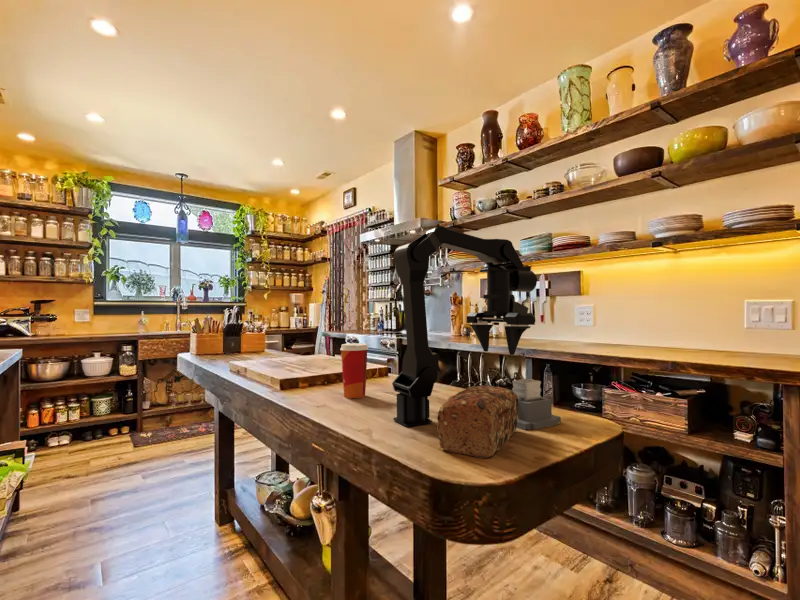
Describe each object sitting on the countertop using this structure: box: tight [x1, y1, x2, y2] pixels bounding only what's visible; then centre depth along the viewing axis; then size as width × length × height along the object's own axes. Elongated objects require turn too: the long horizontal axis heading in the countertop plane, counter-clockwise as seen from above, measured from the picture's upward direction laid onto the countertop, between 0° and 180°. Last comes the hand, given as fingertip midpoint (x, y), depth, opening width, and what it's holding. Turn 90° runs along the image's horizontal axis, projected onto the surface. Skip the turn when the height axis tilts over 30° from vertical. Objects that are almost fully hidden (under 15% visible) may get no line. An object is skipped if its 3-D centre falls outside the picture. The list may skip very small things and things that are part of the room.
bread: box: [436, 385, 518, 459], centre depth 76 cm, size 19×11×10 cm, turn 150°
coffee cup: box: [339, 342, 369, 399], centre depth 115 cm, size 8×8×15 cm
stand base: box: [517, 396, 562, 431], centre depth 88 cm, size 11×11×6 cm
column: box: [511, 378, 542, 402], centre depth 88 cm, size 5×4×8 cm
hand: (498, 353), depth 100 cm, fingers open, 9 cm apart
